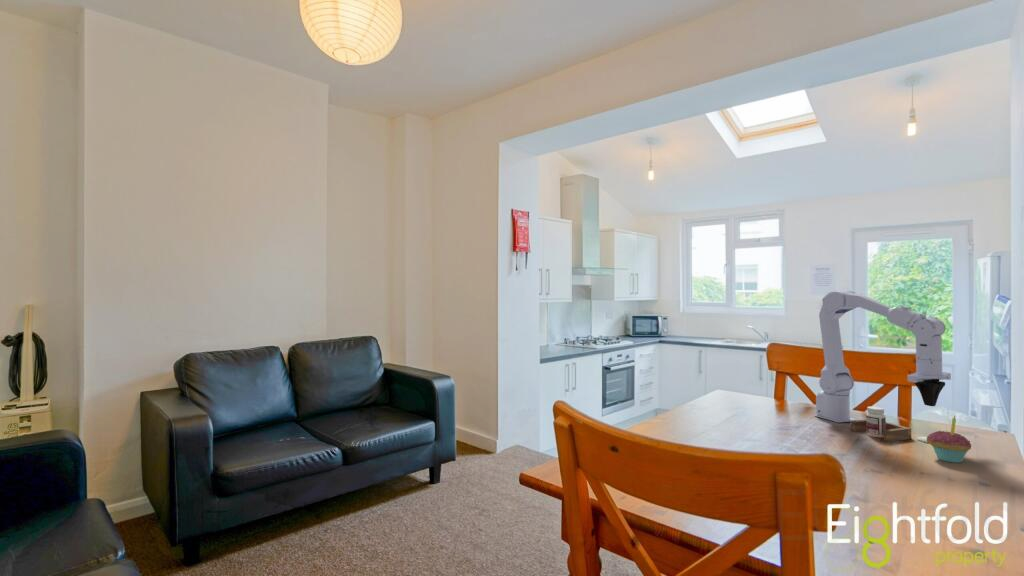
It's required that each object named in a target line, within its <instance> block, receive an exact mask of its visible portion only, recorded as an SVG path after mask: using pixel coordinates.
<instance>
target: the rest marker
mask: <svg viewBox="0 0 1024 576" xmlns="http://www.w3.org/2000/svg"><path fill="white" fill-rule="evenodd" d="M916 439H917V440H918V441H919V442H922V443H924V444H929V443H928V442H927V436H918V437H916Z"/></svg>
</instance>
